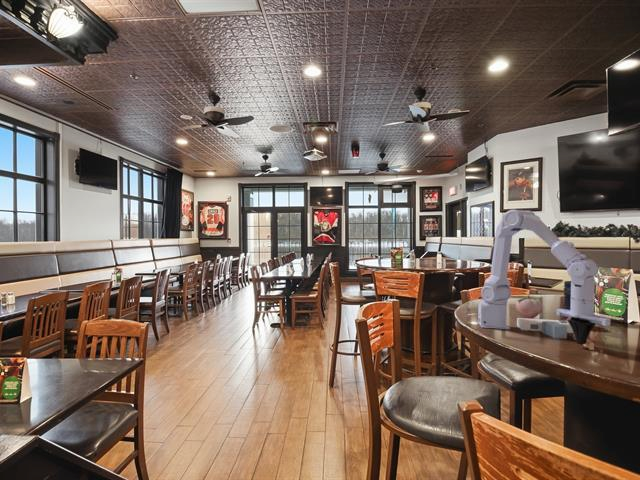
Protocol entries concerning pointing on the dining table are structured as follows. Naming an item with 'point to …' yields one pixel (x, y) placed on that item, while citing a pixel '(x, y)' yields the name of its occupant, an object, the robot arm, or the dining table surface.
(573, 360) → the dining table surface
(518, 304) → the decorative fruit
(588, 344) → the wooden block bar
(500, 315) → the robot arm
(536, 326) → the power strip
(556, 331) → the plug
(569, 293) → the storage jar
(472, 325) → the dining table surface
